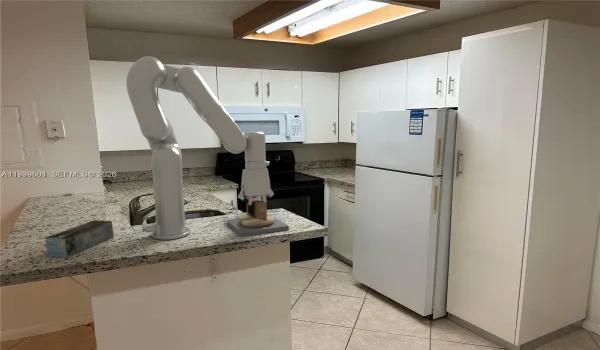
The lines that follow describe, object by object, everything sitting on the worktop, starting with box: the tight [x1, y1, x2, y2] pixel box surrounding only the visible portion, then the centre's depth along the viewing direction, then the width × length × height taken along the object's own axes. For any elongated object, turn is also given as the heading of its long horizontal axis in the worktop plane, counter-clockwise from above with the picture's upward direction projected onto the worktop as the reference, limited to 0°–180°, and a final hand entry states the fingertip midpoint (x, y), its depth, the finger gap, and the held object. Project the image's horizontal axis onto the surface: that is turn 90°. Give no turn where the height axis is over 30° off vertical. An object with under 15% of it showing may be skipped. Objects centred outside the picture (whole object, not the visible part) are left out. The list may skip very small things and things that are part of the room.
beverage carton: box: [45, 219, 115, 258], centre depth 114 cm, size 8×19×7 cm, turn 166°
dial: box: [238, 199, 275, 227], centre depth 134 cm, size 13×13×8 cm
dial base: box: [226, 216, 290, 238], centre depth 135 cm, size 18×18×2 cm
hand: (256, 213), depth 134 cm, fingers closed on dial, 3 cm apart
